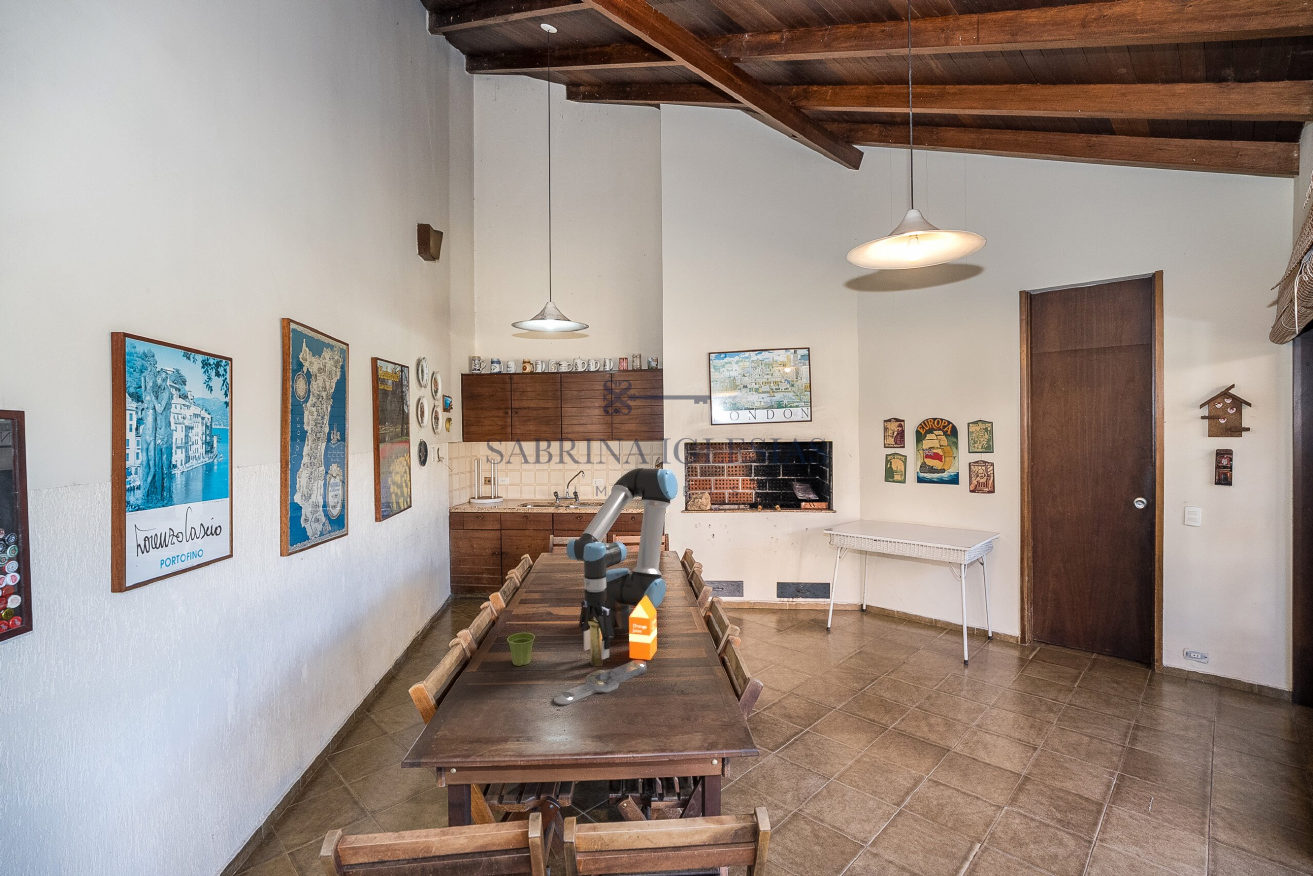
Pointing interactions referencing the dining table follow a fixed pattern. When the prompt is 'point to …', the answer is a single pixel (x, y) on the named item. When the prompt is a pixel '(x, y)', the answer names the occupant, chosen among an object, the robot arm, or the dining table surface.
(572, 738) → the dining table surface
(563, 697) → the metal spinner bar
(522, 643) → the plant pot
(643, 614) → the orange juice
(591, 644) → the pin
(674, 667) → the dining table surface
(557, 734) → the dining table surface
